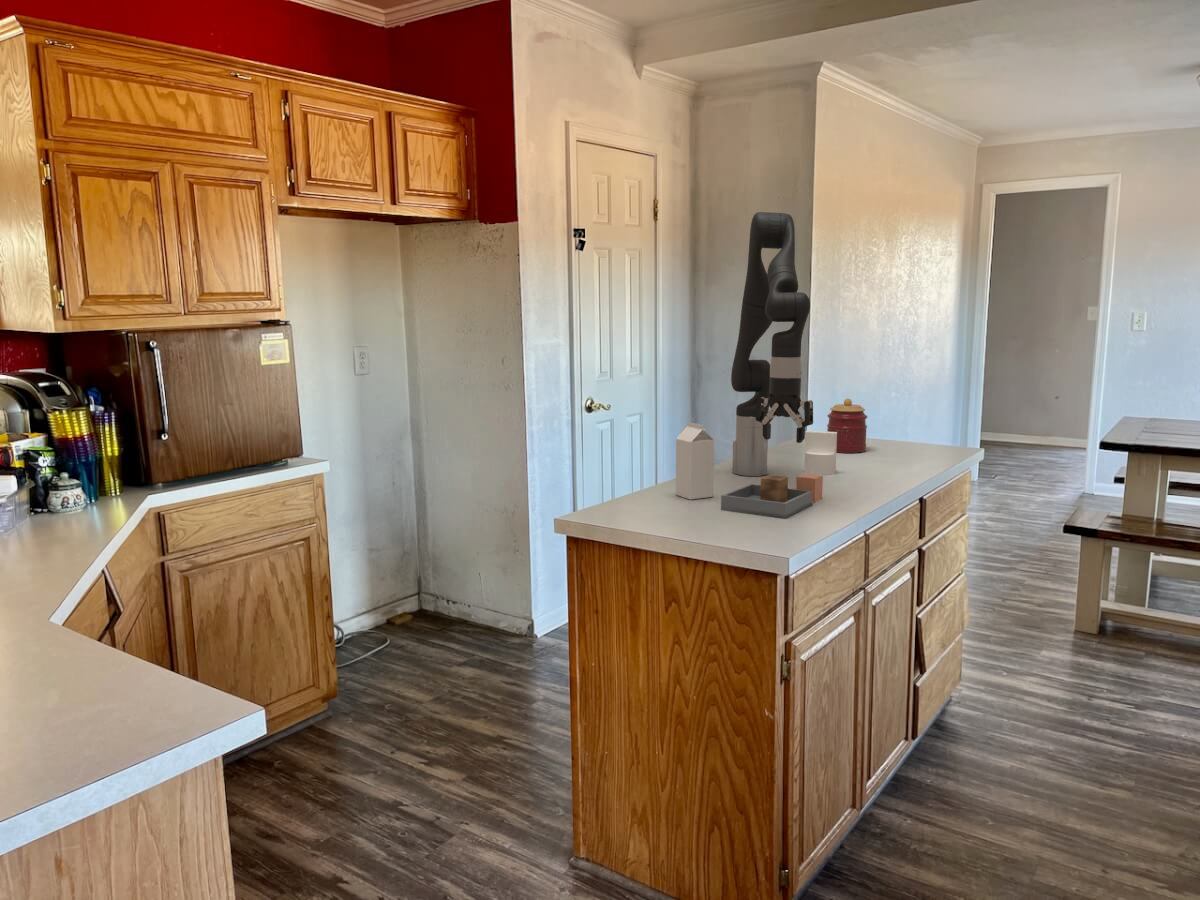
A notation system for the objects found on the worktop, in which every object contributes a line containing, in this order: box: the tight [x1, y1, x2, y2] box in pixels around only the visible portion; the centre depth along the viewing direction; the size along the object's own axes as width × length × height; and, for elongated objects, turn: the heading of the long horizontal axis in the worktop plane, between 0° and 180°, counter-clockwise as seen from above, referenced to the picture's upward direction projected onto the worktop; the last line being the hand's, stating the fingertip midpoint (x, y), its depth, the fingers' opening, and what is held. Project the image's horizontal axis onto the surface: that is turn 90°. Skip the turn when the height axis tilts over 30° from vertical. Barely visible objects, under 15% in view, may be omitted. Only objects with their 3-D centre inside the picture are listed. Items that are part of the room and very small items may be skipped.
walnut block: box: [760, 474, 789, 503], centre depth 218 cm, size 5×5×6 cm
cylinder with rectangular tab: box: [803, 430, 837, 476], centre depth 259 cm, size 9×9×12 cm
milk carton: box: [675, 421, 715, 500], centre depth 227 cm, size 7×7×19 cm
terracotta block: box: [795, 473, 824, 503], centre depth 224 cm, size 5×5×6 cm
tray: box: [720, 483, 813, 519], centre depth 215 cm, size 17×17×4 cm
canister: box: [826, 398, 868, 454], centre depth 296 cm, size 13×13×18 cm
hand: (783, 440), depth 218 cm, fingers open, 8 cm apart
